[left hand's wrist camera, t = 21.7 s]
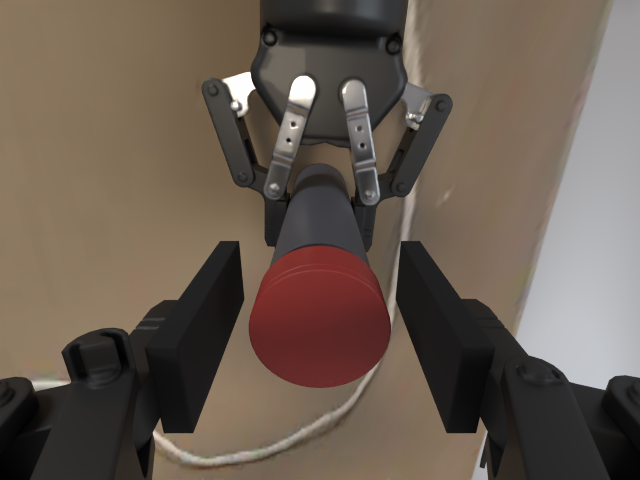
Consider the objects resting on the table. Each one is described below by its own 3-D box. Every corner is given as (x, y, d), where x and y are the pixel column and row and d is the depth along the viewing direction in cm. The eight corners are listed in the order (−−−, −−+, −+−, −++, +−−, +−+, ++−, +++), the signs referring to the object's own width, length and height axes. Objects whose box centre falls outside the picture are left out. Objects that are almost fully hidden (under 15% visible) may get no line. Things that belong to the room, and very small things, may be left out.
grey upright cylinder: (342, 214, 29) (374, 371, 12) (293, 211, 29) (257, 364, 12) (347, 165, 27) (390, 266, 11) (295, 161, 27) (257, 258, 10)
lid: (261, 350, 13) (253, 388, 11) (254, 243, 11) (243, 269, 10) (376, 350, 13) (385, 388, 11) (385, 245, 11) (397, 270, 10)
